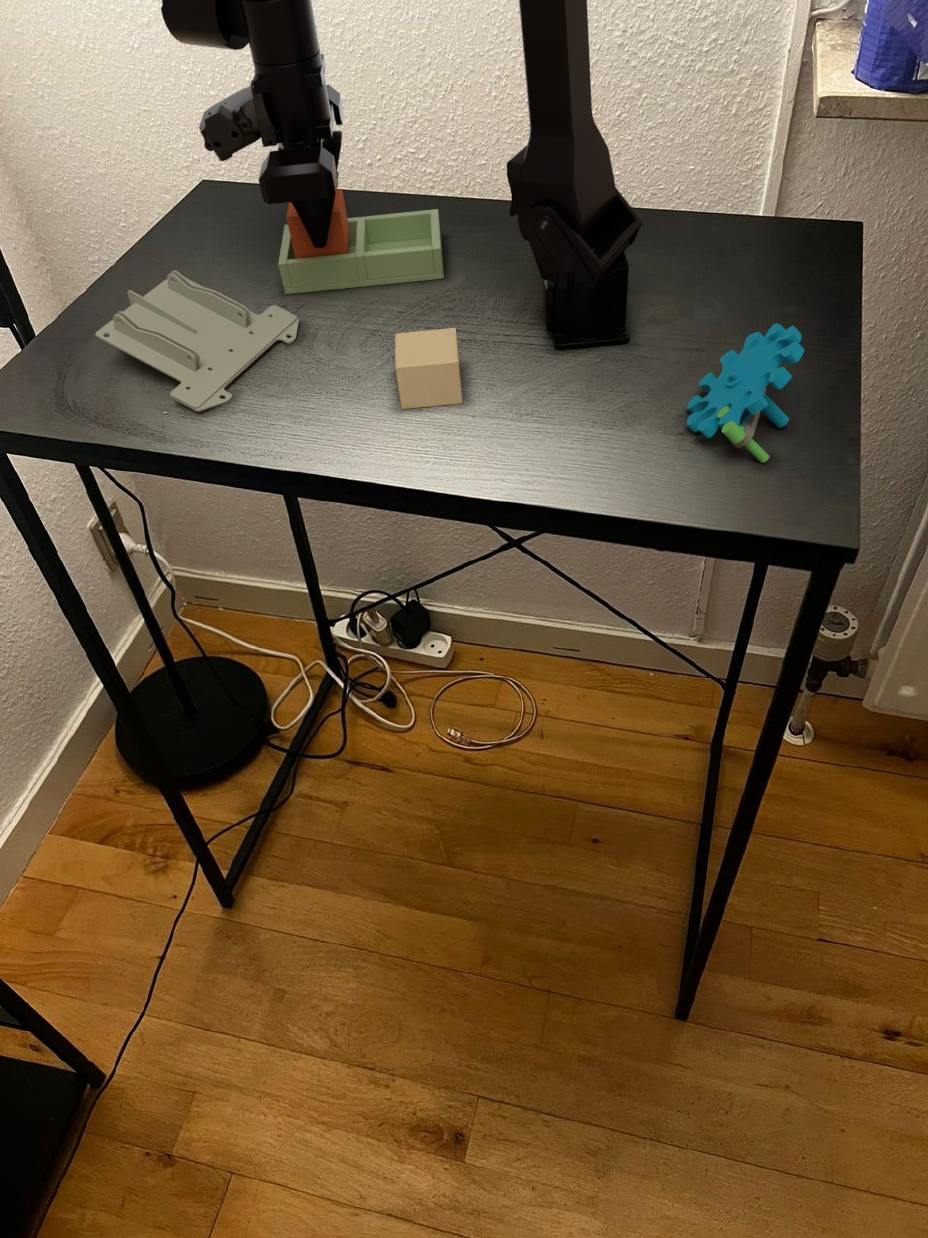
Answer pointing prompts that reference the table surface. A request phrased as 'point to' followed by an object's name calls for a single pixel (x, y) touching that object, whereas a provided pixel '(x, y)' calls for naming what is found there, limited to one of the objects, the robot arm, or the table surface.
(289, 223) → the terracotta block
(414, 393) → the tan block
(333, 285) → the green divided tray
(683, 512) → the table surface
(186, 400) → the metal bracket
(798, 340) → the gear
